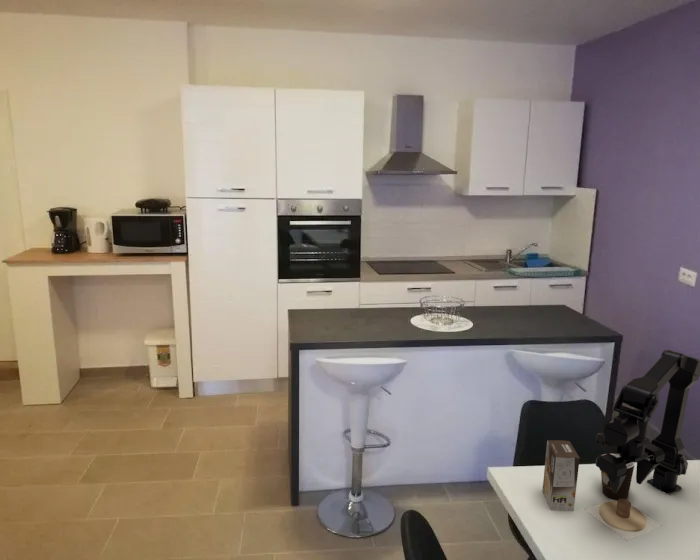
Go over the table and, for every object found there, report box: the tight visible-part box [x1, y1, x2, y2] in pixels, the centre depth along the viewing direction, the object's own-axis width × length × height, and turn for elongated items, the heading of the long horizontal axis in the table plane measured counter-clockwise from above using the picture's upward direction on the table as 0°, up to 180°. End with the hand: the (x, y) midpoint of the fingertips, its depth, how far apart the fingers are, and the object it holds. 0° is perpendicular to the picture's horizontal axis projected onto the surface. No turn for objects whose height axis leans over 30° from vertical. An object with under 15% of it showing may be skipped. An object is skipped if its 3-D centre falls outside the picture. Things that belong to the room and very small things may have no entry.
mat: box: [584, 499, 663, 541], centre depth 141 cm, size 13×13×1 cm
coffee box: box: [542, 439, 581, 512], centre depth 146 cm, size 9×6×16 cm
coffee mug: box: [595, 453, 636, 500], centre depth 152 cm, size 12×9×10 cm
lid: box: [599, 499, 646, 532], centre depth 140 cm, size 11×11×4 cm
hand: (626, 487), depth 139 cm, fingers open, 9 cm apart
